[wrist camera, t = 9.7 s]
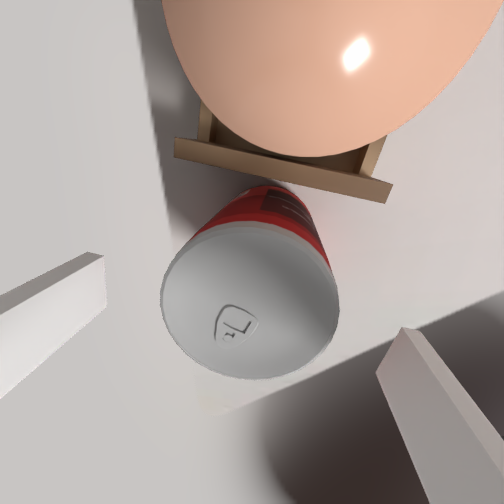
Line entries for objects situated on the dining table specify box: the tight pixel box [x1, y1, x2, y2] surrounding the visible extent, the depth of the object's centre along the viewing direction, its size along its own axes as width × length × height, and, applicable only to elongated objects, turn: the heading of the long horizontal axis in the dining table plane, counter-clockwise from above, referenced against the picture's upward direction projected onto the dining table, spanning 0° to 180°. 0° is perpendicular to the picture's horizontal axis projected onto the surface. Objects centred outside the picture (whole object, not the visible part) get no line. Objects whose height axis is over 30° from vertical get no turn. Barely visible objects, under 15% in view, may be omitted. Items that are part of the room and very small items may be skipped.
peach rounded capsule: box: [161, 0, 504, 157], centre depth 10 cm, size 8×8×11 cm
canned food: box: [160, 186, 340, 380], centre depth 15 cm, size 8×8×11 cm
